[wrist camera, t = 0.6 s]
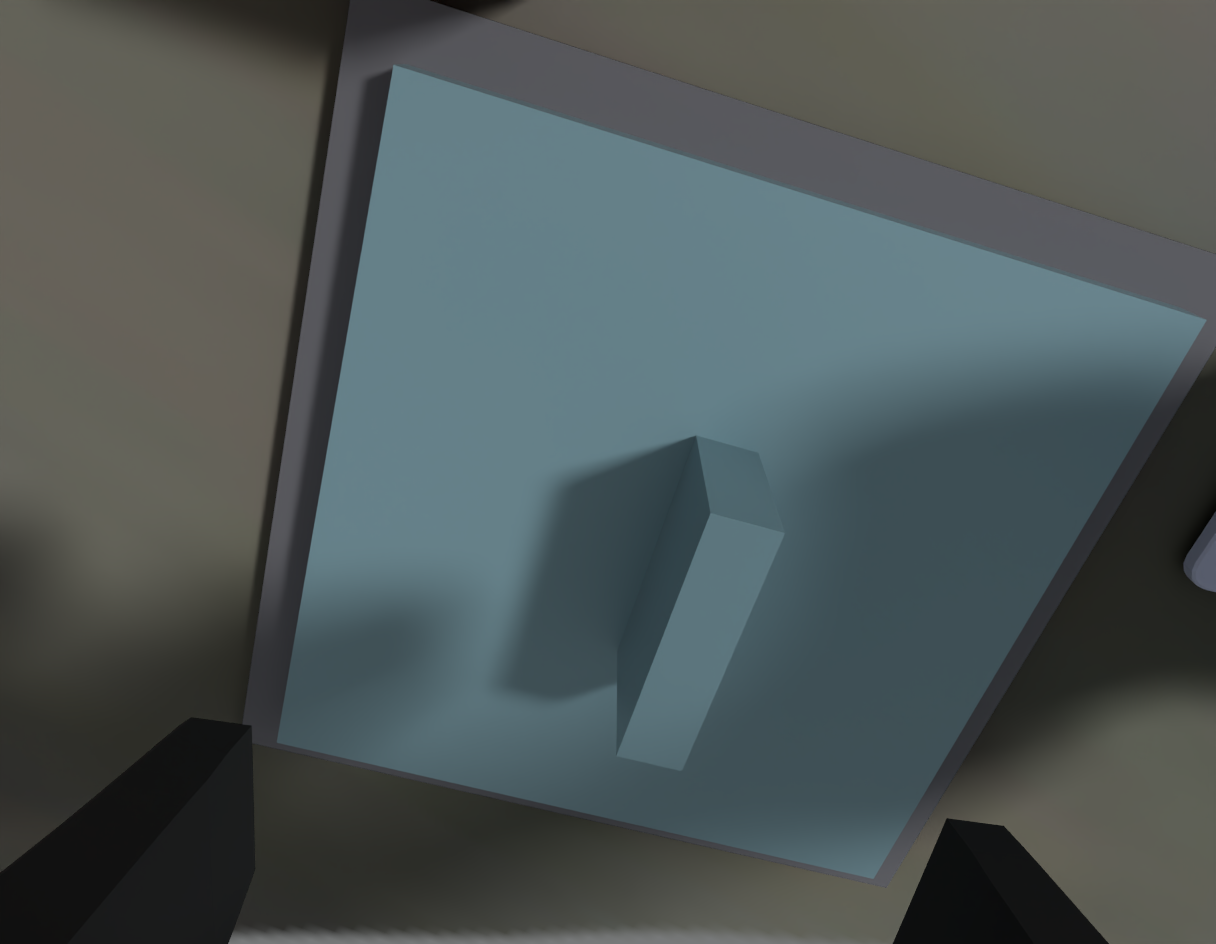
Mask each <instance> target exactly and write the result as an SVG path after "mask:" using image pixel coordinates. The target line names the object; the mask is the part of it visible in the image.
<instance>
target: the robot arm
mask: <svg viewBox="0 0 1216 944" xmlns="http://www.w3.org/2000/svg"><path fill="white" fill-rule="evenodd" d="M1183 566H1184V572H1185V574H1186V575H1187V577H1188V578H1189V579H1190V580H1191V581H1192V582H1193V583H1194V584H1195V585H1197V586H1199V587H1200V588H1202V589H1205V590H1208V591H1212V592H1216V512H1215V513H1214V515H1213V516H1212V518H1211V519H1210V521H1209V522H1208V524H1207V526H1206V527H1205V529H1204V530H1203V532H1202V533H1201V535H1200V536H1199V538H1198V539H1197V541H1196V542H1195V544H1194V545H1193V547H1192V548H1191V550H1190V551H1189V553H1188V554H1187V556H1186V558H1185V561H1184V563H1183ZM254 871H255V843H254V800H253V756H252V726H251V725H244V724H236V723H229V722H221V721H214V720H206V719H199V718H190V719H188V720H187V721H185V722H184V723H182V724H181V725H179V726H178V727H177V728H176V729H175V730H173V731H172V732H171V733H170V734H169V735H167V736H166V737H165V738H164V739H163V740H161V741H160V742H159V743H158V744H157V745H156V746H154V747H153V748H152V749H151V750H150V751H148V752H147V753H146V754H145V755H144V756H143V757H141V758H140V759H139V760H138V761H137V762H135V763H134V764H133V765H132V766H131V767H130V768H128V769H127V770H126V771H125V772H124V773H122V774H121V775H120V776H119V777H118V778H117V779H115V780H114V781H113V782H112V783H111V784H109V785H108V786H107V787H106V788H105V789H103V790H102V791H101V792H100V793H99V794H97V795H96V796H95V797H94V798H93V799H91V800H90V801H89V802H88V803H86V804H85V805H84V806H83V807H82V808H80V809H79V810H78V811H77V812H76V813H74V814H73V815H72V816H71V817H70V818H68V819H67V820H66V821H65V822H64V823H62V824H61V825H60V826H59V827H57V828H56V829H55V830H54V831H52V832H51V833H50V834H49V835H47V836H46V837H45V838H43V839H42V840H41V841H40V842H38V843H37V844H36V845H35V846H33V847H32V848H31V849H30V850H28V851H27V852H26V853H25V854H23V855H22V856H21V857H20V858H18V859H17V860H16V861H15V862H13V863H12V864H11V865H10V866H8V867H7V868H6V869H5V870H3V871H2V872H1V873H0V944H228V942H229V940H230V937H231V935H232V932H233V929H234V927H235V924H236V921H237V918H238V916H239V913H240V910H241V907H242V904H243V902H244V899H245V896H246V893H247V890H248V888H249V885H250V882H251V879H252V877H253V874H254ZM893 944H1109V943H1108V942H1107V941H1106V940H1105V939H1104V938H1103V936H1102V935H1101V934H1100V933H1099V932H1098V931H1097V930H1096V929H1095V927H1094V926H1093V925H1092V924H1091V923H1090V922H1089V921H1088V919H1087V918H1086V917H1085V916H1084V915H1083V914H1082V913H1081V912H1080V910H1079V909H1078V908H1077V907H1076V906H1075V905H1074V904H1073V902H1072V901H1071V900H1070V899H1069V898H1068V897H1067V896H1066V894H1065V893H1064V892H1063V891H1062V890H1061V889H1060V888H1059V887H1058V885H1057V884H1056V883H1055V882H1054V881H1053V880H1052V879H1051V877H1050V876H1049V875H1048V874H1047V873H1046V872H1045V871H1044V870H1043V868H1042V867H1041V866H1040V865H1039V864H1038V863H1037V862H1036V861H1035V859H1034V858H1033V857H1032V856H1031V855H1030V854H1029V853H1028V852H1027V851H1026V849H1025V848H1024V847H1023V846H1022V845H1021V844H1020V843H1019V842H1018V841H1017V840H1016V839H1015V838H1014V836H1013V835H1012V834H1011V833H1010V832H1009V831H1008V830H1007V829H1006V828H1005V827H1004V826H1000V825H992V824H985V823H977V822H970V821H962V820H955V819H946V822H945V824H944V826H943V828H942V831H941V833H940V835H939V838H938V840H937V842H936V845H935V847H934V849H933V852H932V854H931V856H930V859H929V861H928V863H927V866H926V868H925V870H924V873H923V875H922V877H921V880H920V882H919V884H918V887H917V889H916V891H915V894H914V896H913V898H912V900H911V903H910V905H909V907H908V910H907V912H906V914H905V917H904V919H903V921H902V924H901V926H900V928H899V931H898V933H897V935H896V938H895V940H894V942H893Z"/></svg>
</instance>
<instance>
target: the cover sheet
mask: <svg viewBox="0 0 1216 944" xmlns="http://www.w3.org/2000/svg"><path fill="white" fill-rule="evenodd" d="M1206 321H1207V320H1206V319H1204V318H1202V317H1199V316H1197V315H1195V314H1193V313H1191V312H1189V311H1187V310H1184V309H1182V308H1180V307H1177V306H1174V305H1170V304H1167V303H1164V302H1161V301H1158V300H1155V299H1151V298H1148V297H1145V296H1142V295H1139V294H1135V293H1132V292H1129V291H1126V290H1123V289H1120V288H1116V287H1113V286H1110V285H1107V284H1104V283H1100V282H1097V281H1094V280H1091V279H1088V278H1085V277H1081V276H1078V275H1075V274H1072V273H1069V272H1065V271H1062V270H1059V269H1056V268H1053V267H1050V266H1046V265H1043V264H1040V263H1037V262H1034V261H1030V260H1027V259H1024V258H1021V257H1018V256H1015V255H1011V254H1008V253H1005V252H1002V251H999V250H995V249H992V248H989V247H986V246H983V245H980V244H976V243H973V242H970V241H967V240H964V239H960V238H957V237H954V236H951V235H948V234H945V233H941V232H938V231H935V230H932V229H929V228H925V227H922V226H919V225H916V224H913V223H910V222H906V221H903V220H900V219H897V218H894V217H890V216H887V215H884V214H881V213H878V212H875V211H871V210H868V209H865V208H862V207H859V206H855V205H852V204H849V203H846V202H843V201H840V200H836V199H833V198H830V197H827V196H824V195H820V194H817V193H814V192H811V191H808V190H805V189H801V188H798V187H795V186H792V185H789V184H785V183H782V182H779V181H776V180H773V179H770V178H766V177H763V176H760V175H757V174H754V173H750V172H747V171H744V170H741V169H738V168H735V167H731V166H728V165H725V164H722V163H719V162H715V161H712V160H709V159H706V158H703V157H700V156H696V155H693V154H690V153H687V152H684V151H680V150H677V149H674V148H671V147H668V146H665V145H661V144H658V143H655V142H652V141H649V140H645V139H642V138H639V137H636V136H633V135H630V134H626V133H623V132H620V131H617V130H614V129H610V128H607V127H604V126H601V125H598V124H595V123H591V122H588V121H585V120H582V119H579V118H575V117H572V116H569V115H566V114H563V113H560V112H556V111H553V110H550V109H547V108H544V107H540V106H537V105H534V104H531V103H528V102H525V101H521V100H518V99H515V98H512V97H509V96H505V95H502V94H499V93H496V92H493V91H490V90H486V89H483V88H480V87H477V86H474V85H470V84H467V83H464V82H461V81H458V80H455V79H451V78H448V77H445V76H442V75H439V74H435V73H432V72H429V71H426V70H423V69H420V68H416V67H413V66H410V65H407V64H397V65H393V71H392V77H391V83H390V88H389V94H388V100H387V106H386V112H385V117H384V123H383V129H382V135H381V141H380V146H379V152H378V158H377V164H376V170H375V175H374V181H373V187H372V193H371V199H370V204H369V210H368V216H367V222H366V228H365V233H364V239H363V245H362V251H361V257H360V262H359V268H358V274H357V280H356V286H355V291H354V297H353V303H352V309H351V315H350V320H349V326H348V332H347V338H346V344H345V349H344V355H343V361H342V367H341V373H340V378H339V384H338V390H337V396H336V402H335V407H334V413H333V419H332V425H331V431H330V436H329V442H328V448H327V454H326V460H325V465H324V471H323V477H322V483H321V489H320V494H319V500H318V506H317V512H316V518H315V523H314V529H313V535H312V541H311V547H310V552H309V558H308V564H307V570H306V576H305V581H304V587H303V593H302V599H301V605H300V610H299V616H298V622H297V628H296V634H295V639H294V645H293V651H292V657H291V663H290V668H289V674H288V680H287V686H286V692H285V697H284V703H283V709H282V715H281V720H280V726H279V732H278V738H277V743H281V744H285V745H289V746H294V747H298V748H302V749H307V750H311V751H316V752H320V753H324V754H329V755H333V756H337V757H342V758H346V759H351V760H355V761H359V762H364V763H368V764H372V765H377V766H381V767H386V768H390V769H394V770H399V771H403V772H407V773H412V774H416V775H421V776H425V777H429V778H434V779H438V780H442V781H447V782H451V783H456V784H460V785H464V786H469V787H473V788H477V789H482V790H486V791H491V792H495V793H499V794H504V795H508V796H512V797H517V798H521V799H526V800H530V801H534V802H539V803H543V804H547V805H552V806H556V807H561V808H565V809H569V810H574V811H578V812H582V813H587V814H591V815H596V816H600V817H604V818H609V819H613V820H617V821H622V822H626V823H631V824H635V825H639V826H644V827H648V828H652V829H657V830H661V831H666V832H670V833H674V834H679V835H683V836H687V837H692V838H696V839H701V840H705V841H709V842H714V843H718V844H722V845H727V846H731V847H736V848H740V849H744V850H749V851H753V852H757V853H762V854H766V855H771V856H775V857H779V858H784V859H788V860H792V861H797V862H801V863H806V864H810V865H814V866H819V867H823V868H827V869H832V870H836V871H841V872H845V873H849V874H854V875H858V876H862V877H867V878H871V879H874V877H875V875H876V874H877V872H878V870H879V869H880V867H881V865H882V864H883V862H884V860H885V859H886V857H887V855H888V854H889V852H890V850H891V849H892V847H893V845H894V844H895V842H896V840H897V839H898V837H899V835H900V833H901V832H902V830H903V828H904V827H905V825H906V823H907V822H908V820H909V818H910V817H911V815H912V813H913V812H914V810H915V808H916V807H917V805H918V803H919V802H920V800H921V798H922V797H923V795H924V793H925V792H926V790H927V788H928V787H929V785H930V783H931V782H932V780H933V778H934V777H935V775H936V773H937V771H938V770H939V768H940V766H941V765H942V763H943V761H944V760H945V758H946V756H947V755H948V753H949V751H950V750H951V748H952V746H953V745H954V743H955V741H956V740H957V738H958V736H959V735H960V733H961V731H962V730H963V728H964V726H965V725H966V723H967V721H968V720H969V718H970V716H971V714H972V713H973V711H974V709H975V708H976V706H977V704H978V703H979V701H980V699H981V698H982V696H983V694H984V693H985V691H986V689H987V688H988V686H989V684H990V683H991V681H992V679H993V678H994V676H995V674H996V673H997V671H998V669H999V668H1000V666H1001V664H1002V663H1003V661H1004V659H1005V657H1006V656H1007V654H1008V652H1009V651H1010V649H1011V647H1012V646H1013V644H1014V642H1015V641H1016V639H1017V637H1018V636H1019V634H1020V632H1021V631H1022V629H1023V627H1024V626H1025V624H1026V622H1027V621H1028V619H1029V617H1030V616H1031V614H1032V612H1033V611H1034V609H1035V607H1036V606H1037V604H1038V602H1039V600H1040V599H1041V597H1042V595H1043V594H1044V592H1045V590H1046V589H1047V587H1048V585H1049V584H1050V582H1051V580H1052V579H1053V577H1054V575H1055V574H1056V572H1057V570H1058V569H1059V567H1060V565H1061V564H1062V562H1063V560H1064V559H1065V557H1066V555H1067V554H1068V552H1069V550H1070V549H1071V547H1072V545H1073V543H1074V542H1075V540H1076V538H1077V537H1078V535H1079V533H1080V532H1081V530H1082V528H1083V527H1084V525H1085V523H1086V522H1087V520H1088V518H1089V517H1090V515H1091V513H1092V512H1093V510H1094V508H1095V507H1096V505H1097V503H1098V502H1099V500H1100V498H1101V497H1102V495H1103V493H1104V492H1105V490H1106V488H1107V486H1108V485H1109V483H1110V481H1111V480H1112V478H1113V476H1114V475H1115V473H1116V471H1117V470H1118V468H1119V466H1120V465H1121V463H1122V461H1123V460H1124V458H1125V456H1126V455H1127V453H1128V451H1129V450H1130V448H1131V446H1132V445H1133V443H1134V441H1135V440H1136V438H1137V436H1138V435H1139V433H1140V431H1141V429H1142V428H1143V426H1144V424H1145V423H1146V421H1147V419H1148V418H1149V416H1150V414H1151V413H1152V411H1153V409H1154V408H1155V406H1156V404H1157V403H1158V401H1159V399H1160V398H1161V396H1162V394H1163V393H1164V391H1165V389H1166V388H1167V386H1168V384H1169V383H1170V381H1171V379H1172V378H1173V376H1174V374H1175V372H1176V371H1177V369H1178V367H1179V366H1180V364H1181V362H1182V361H1183V359H1184V357H1185V356H1186V354H1187V352H1188V351H1189V349H1190V347H1191V346H1192V344H1193V342H1194V341H1195V339H1196V337H1197V336H1198V334H1199V332H1200V331H1201V329H1202V327H1203V326H1204V324H1205V322H1206Z"/></svg>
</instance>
